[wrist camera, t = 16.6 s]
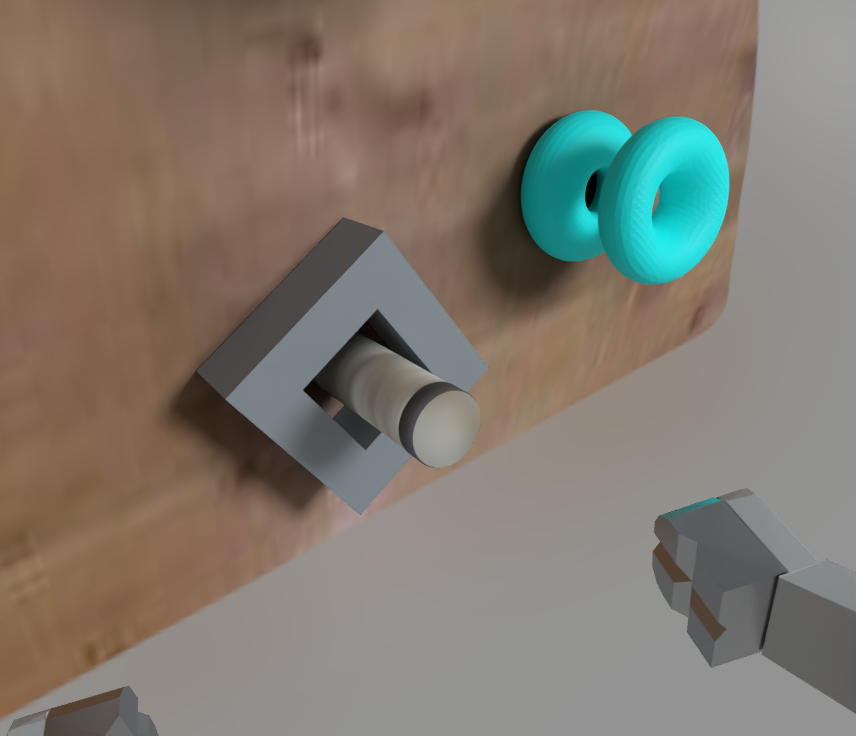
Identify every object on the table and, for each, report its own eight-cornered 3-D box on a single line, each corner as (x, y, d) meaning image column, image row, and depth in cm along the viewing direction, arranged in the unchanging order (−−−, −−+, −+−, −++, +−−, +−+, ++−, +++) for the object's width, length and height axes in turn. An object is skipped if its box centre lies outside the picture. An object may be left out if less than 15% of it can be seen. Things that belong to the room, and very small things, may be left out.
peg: (331, 400, 48) (441, 483, 38) (290, 360, 45) (398, 438, 36) (375, 352, 48) (494, 422, 39) (337, 310, 46) (455, 373, 37)
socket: (326, 483, 49) (360, 515, 46) (196, 371, 42) (225, 399, 39) (447, 346, 52) (488, 367, 48) (343, 217, 44) (384, 231, 41)
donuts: (759, 189, 49) (675, 318, 48) (638, 171, 57) (564, 283, 56) (696, 79, 43) (599, 227, 42) (570, 76, 50) (486, 200, 50)
